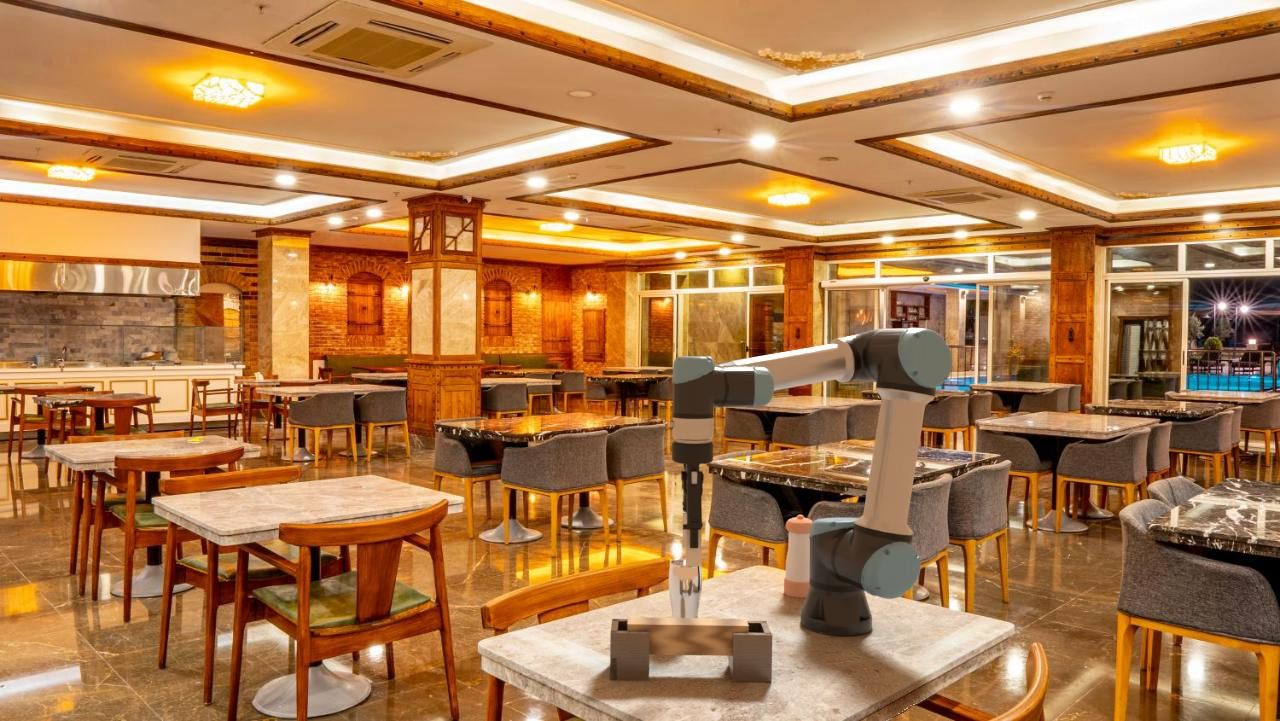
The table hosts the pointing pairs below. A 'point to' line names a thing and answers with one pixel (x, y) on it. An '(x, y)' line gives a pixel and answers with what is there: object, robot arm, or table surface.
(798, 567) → the pepper shaker
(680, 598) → the shiny metal tumbler
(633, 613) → the table surface
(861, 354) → the robot arm
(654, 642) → the rail
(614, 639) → the brackets
